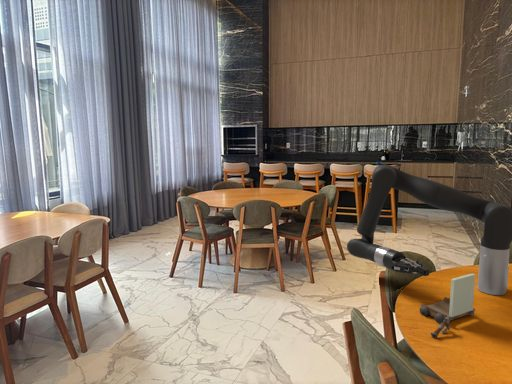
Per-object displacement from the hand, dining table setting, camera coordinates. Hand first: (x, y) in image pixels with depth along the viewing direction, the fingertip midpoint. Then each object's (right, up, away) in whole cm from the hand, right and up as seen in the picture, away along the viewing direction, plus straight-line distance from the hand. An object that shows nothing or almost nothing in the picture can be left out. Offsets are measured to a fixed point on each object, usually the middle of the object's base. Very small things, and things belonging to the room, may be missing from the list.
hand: (427, 273), depth 130 cm
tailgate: (+6, -11, -10) cm, 16 cm away
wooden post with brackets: (-4, -15, -17) cm, 23 cm away
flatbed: (+4, -13, -5) cm, 14 cm away
